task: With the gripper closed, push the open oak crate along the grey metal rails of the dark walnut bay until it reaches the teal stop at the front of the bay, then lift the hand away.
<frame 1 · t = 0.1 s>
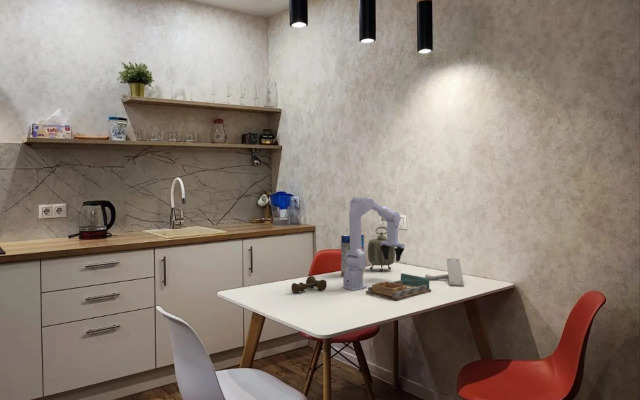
hand: (392, 260, 250), 10 cm above the table, tool pointing down, fingers open, 7 cm apart
crate: (389, 288, 218), point 3 cm above the table, slide at 0.0 cm
bay: (398, 292, 223), on the table
door handle: (444, 283, 245), on the table
beverage box: (352, 275, 261), on the table
tabletop clock: (381, 271, 274), on the table
brown knobbed bar: (310, 291, 226), on the table
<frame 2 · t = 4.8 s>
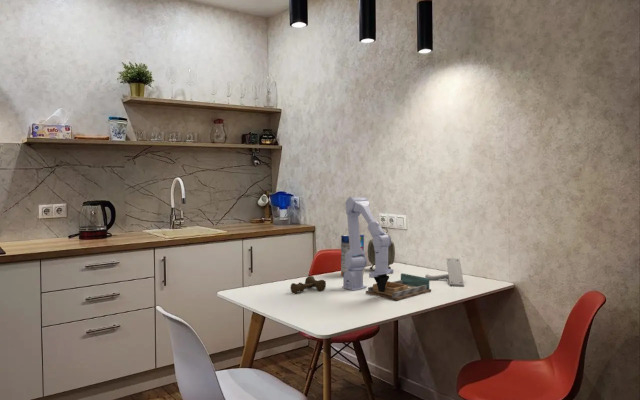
hand: (381, 291, 214), 2 cm above the table, tool pointing down, fingers closed
crate: (390, 288, 218), point 3 cm above the table, slide at 0.7 cm, touching gripper
everything else where it was.
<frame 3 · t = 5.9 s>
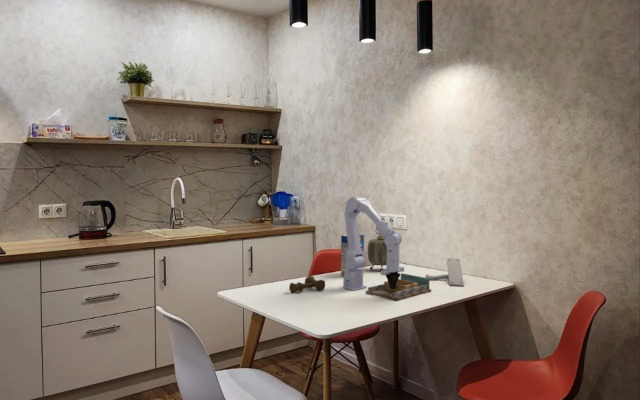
hand: (392, 288, 220), 2 cm above the table, tool pointing down, fingers closed
crate: (400, 285, 224), point 3 cm above the table, slide at 8.7 cm, touching gripper
everything else where it was.
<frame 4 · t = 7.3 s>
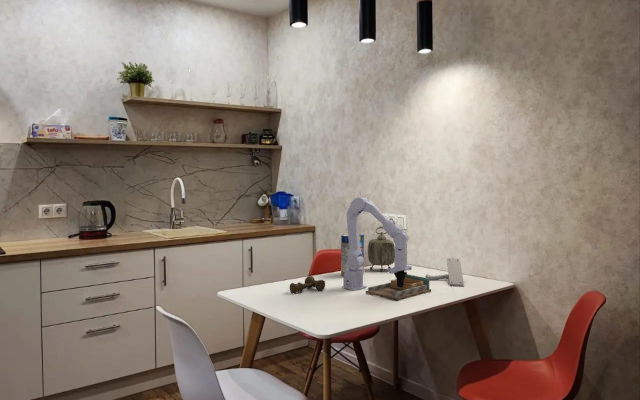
hand: (400, 287, 223), 2 cm above the table, tool pointing down, fingers closed, pressing on crate
crate: (407, 284, 227), point 3 cm above the table, slide at 13.5 cm, touching gripper
everything else where it was.
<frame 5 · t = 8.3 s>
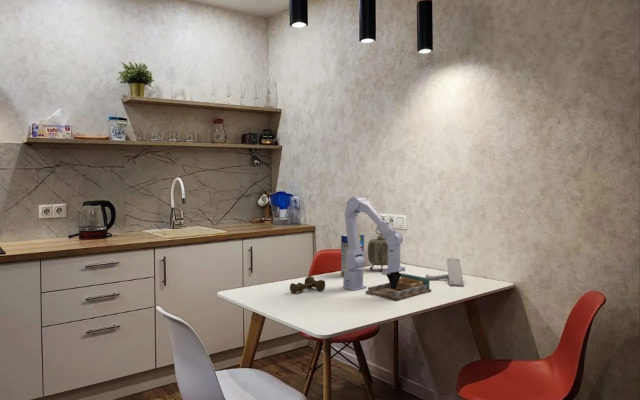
hand: (393, 288, 220), 2 cm above the table, tool pointing down, fingers closed
crate: (406, 284, 227), point 3 cm above the table, slide at 13.0 cm
everything else where it was.
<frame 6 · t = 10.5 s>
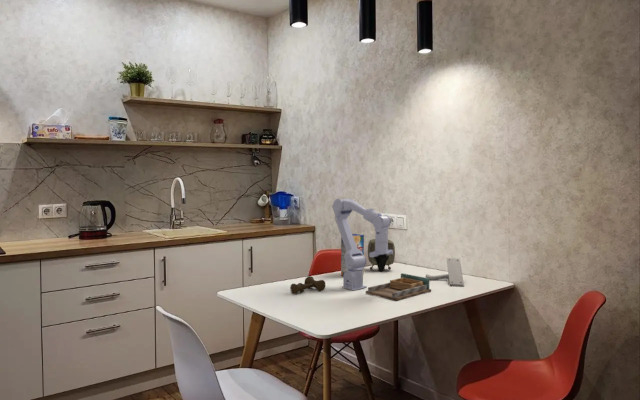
hand: (381, 271, 220), 10 cm above the table, tool pointing down, fingers closed
nothing on the table moved.
at the end: crate slide at 13.0 cm; crate 1.0 cm from the target spot, resting on bay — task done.
